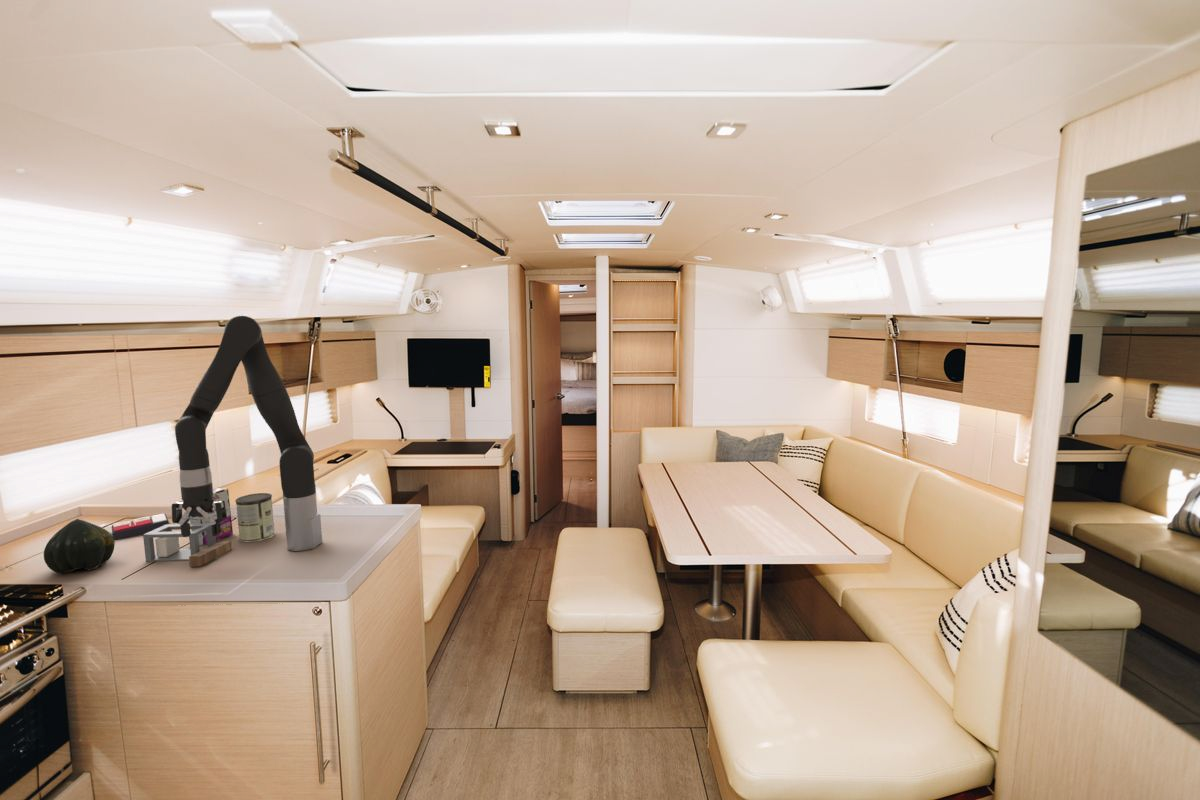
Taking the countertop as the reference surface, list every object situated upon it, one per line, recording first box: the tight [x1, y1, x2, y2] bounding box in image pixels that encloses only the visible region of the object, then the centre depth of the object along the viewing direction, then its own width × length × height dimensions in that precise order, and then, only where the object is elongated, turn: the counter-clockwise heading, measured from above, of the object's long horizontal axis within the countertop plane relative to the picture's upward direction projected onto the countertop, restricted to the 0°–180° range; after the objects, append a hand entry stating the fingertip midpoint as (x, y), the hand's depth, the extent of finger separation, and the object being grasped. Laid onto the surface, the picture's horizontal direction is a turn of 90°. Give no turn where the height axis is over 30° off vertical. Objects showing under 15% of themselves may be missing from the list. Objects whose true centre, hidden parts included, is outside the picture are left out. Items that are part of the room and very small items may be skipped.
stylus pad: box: [201, 558, 218, 567], centre depth 161 cm, size 4×5×1 cm
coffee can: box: [235, 492, 276, 543], centre depth 182 cm, size 10×10×14 cm
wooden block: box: [188, 540, 232, 567], centre depth 164 cm, size 3×3×14 cm
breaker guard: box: [142, 523, 217, 563], centre depth 166 cm, size 15×9×9 cm, turn 92°
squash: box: [43, 518, 116, 574], centre depth 159 cm, size 14×15×15 cm
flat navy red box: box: [111, 512, 170, 541], centre depth 190 cm, size 11×4×15 cm
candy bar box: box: [189, 487, 234, 546], centre depth 180 cm, size 11×5×16 cm, turn 168°
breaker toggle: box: [154, 537, 181, 557], centre depth 166 cm, size 3×5×7 cm, turn 2°
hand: (201, 535), depth 160 cm, fingers open, 8 cm apart
